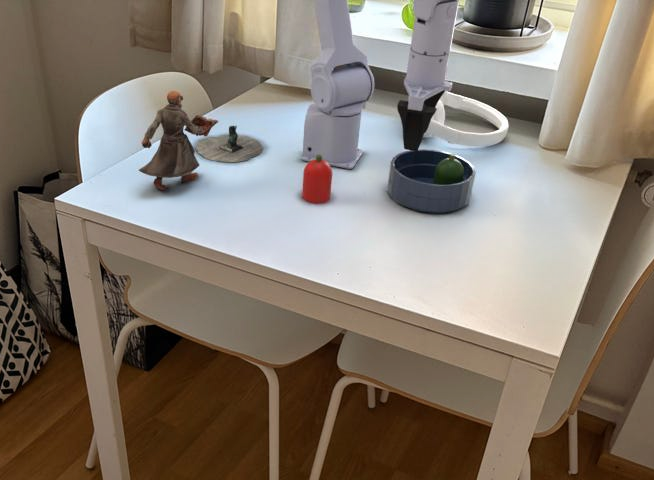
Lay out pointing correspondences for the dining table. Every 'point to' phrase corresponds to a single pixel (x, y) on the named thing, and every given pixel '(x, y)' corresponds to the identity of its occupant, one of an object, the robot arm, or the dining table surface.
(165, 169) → the figurine
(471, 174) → the shallow round dish
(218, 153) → the sculpture
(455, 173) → the green pepper
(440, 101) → the headphones
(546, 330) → the dining table surface
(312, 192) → the red pepper
